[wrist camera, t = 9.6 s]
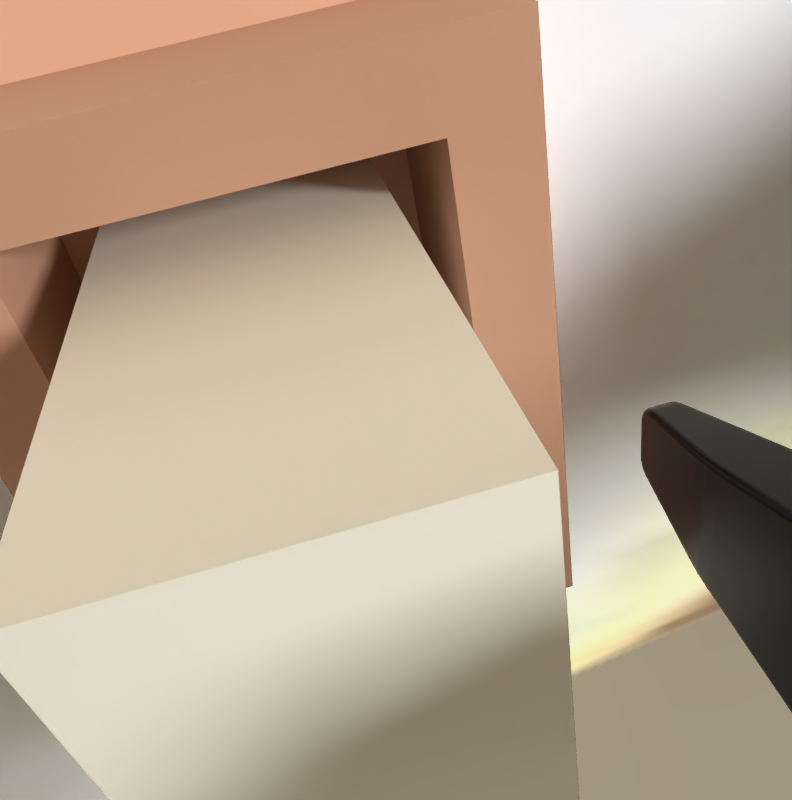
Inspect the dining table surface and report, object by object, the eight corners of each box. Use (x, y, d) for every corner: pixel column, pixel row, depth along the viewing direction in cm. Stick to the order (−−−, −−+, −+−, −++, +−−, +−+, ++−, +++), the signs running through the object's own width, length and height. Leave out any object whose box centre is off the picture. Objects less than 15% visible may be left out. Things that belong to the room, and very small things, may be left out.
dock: (498, -130, 11) (629, -138, 8) (546, 470, 18) (625, 605, 15) (-193, 29, 10) (-390, 98, 7) (139, 585, 17) (122, 755, 14)
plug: (361, 144, 11) (557, 470, 5) (421, 438, 15) (582, 851, 9) (105, 207, 11) (-31, 637, 5) (228, 491, 15) (245, 958, 8)
